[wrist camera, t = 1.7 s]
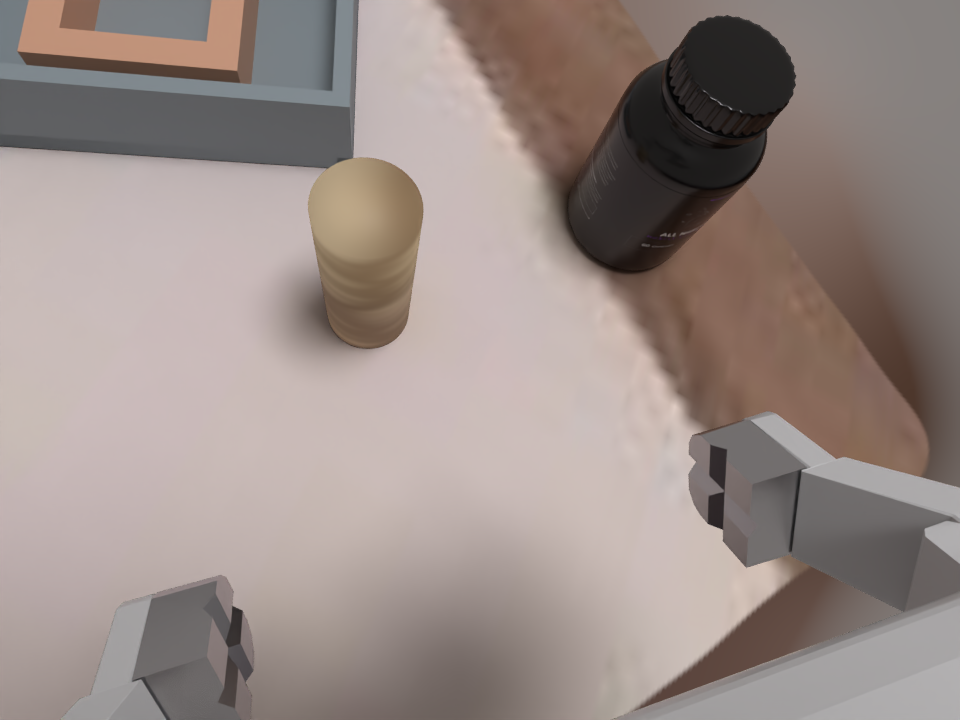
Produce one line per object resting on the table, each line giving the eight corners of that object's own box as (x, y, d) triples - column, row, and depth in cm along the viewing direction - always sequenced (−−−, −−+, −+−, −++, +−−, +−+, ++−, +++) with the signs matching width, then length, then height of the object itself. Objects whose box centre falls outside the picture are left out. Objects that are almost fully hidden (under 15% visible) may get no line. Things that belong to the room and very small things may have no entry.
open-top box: (-70, 141, 31) (-149, 66, 26) (-13, -79, 35) (-73, -178, 30) (352, 169, 34) (349, 107, 29) (359, -35, 38) (358, -119, 34)
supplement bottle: (650, 297, 35) (784, 172, 23) (543, 232, 35) (625, 75, 24) (699, 206, 37) (843, 52, 26) (598, 145, 37) (698, -36, 26)
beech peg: (325, 347, 31) (304, 255, 22) (329, 272, 32) (310, 153, 23) (408, 349, 32) (423, 261, 22) (408, 275, 33) (423, 161, 23)
